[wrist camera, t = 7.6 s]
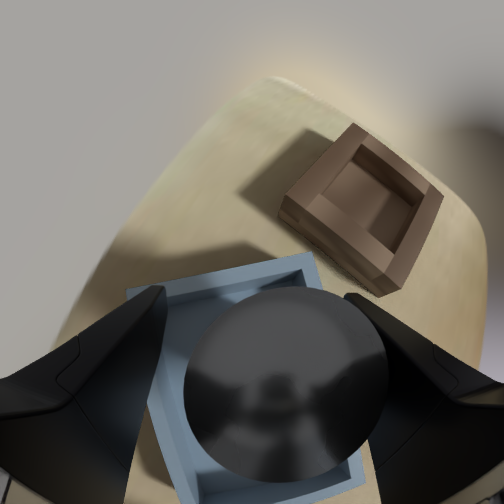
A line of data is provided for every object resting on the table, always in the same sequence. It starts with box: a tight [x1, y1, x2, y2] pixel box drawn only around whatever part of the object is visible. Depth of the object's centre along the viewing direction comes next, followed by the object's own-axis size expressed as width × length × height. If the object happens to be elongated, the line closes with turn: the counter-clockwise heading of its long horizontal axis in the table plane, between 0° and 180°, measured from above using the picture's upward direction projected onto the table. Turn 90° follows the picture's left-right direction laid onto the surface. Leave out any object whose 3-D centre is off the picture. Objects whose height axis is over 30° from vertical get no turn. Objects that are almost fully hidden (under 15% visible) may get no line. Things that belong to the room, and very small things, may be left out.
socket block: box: [278, 123, 444, 298], centre depth 19 cm, size 9×9×3 cm
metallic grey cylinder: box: [183, 286, 389, 483], centre depth 10 cm, size 4×4×11 cm
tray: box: [126, 251, 366, 504], centre depth 14 cm, size 14×10×4 cm
